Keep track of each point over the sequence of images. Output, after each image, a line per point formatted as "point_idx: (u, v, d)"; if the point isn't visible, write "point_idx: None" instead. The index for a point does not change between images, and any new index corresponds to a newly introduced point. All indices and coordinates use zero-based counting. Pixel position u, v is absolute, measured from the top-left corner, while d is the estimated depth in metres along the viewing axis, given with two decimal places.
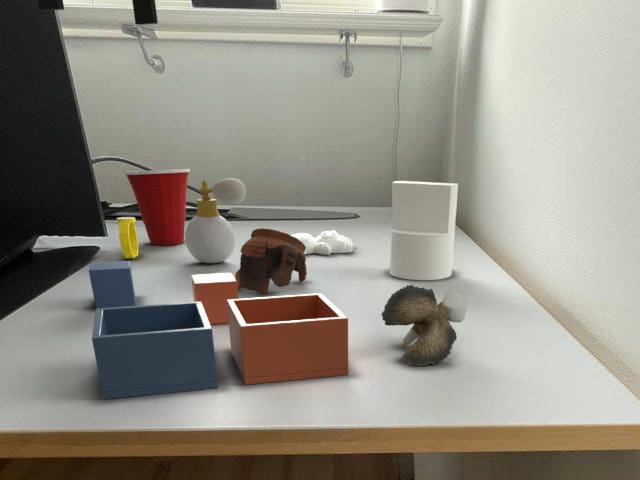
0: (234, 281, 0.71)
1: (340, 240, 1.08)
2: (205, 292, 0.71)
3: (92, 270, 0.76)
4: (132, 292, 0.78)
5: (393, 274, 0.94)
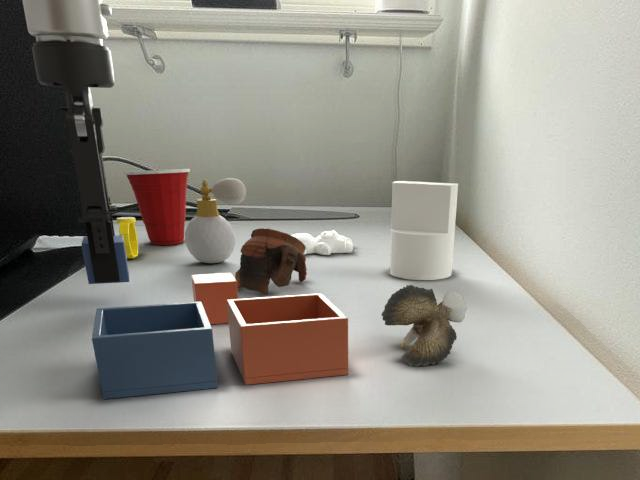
0: (234, 281, 0.71)
1: (340, 240, 1.08)
2: (205, 292, 0.71)
3: (85, 244, 0.74)
4: (125, 267, 0.77)
5: (393, 274, 0.94)
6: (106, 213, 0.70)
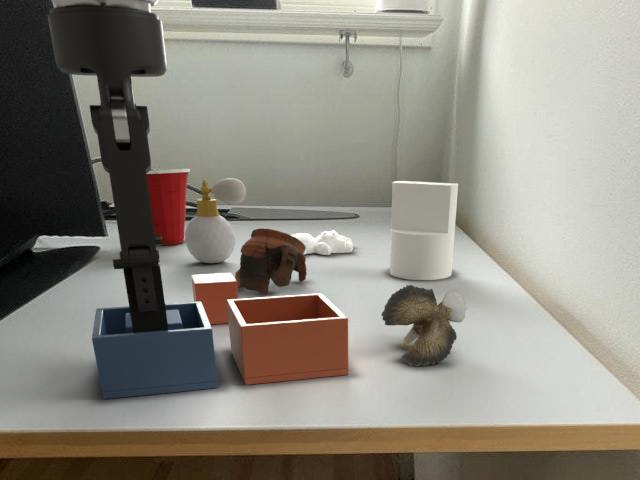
0: (234, 281, 0.71)
1: (340, 240, 1.08)
2: (205, 292, 0.71)
3: (130, 327, 0.54)
4: None
5: (393, 274, 0.94)
6: (156, 255, 0.48)
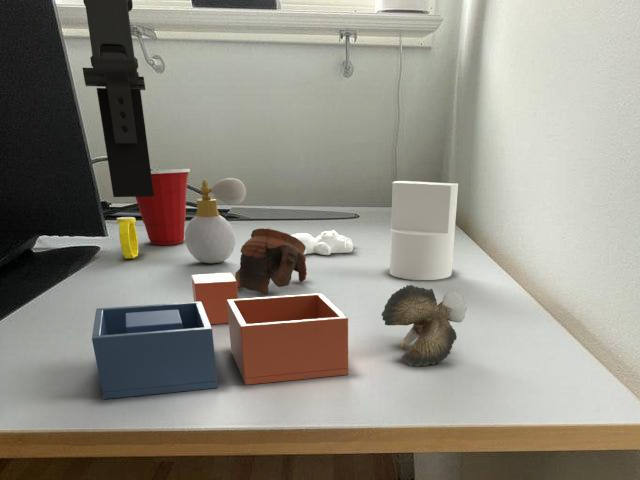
0: (234, 281, 0.71)
1: (340, 240, 1.08)
2: (205, 292, 0.71)
3: (130, 327, 0.54)
4: None
5: (393, 274, 0.94)
6: (133, 59, 0.40)
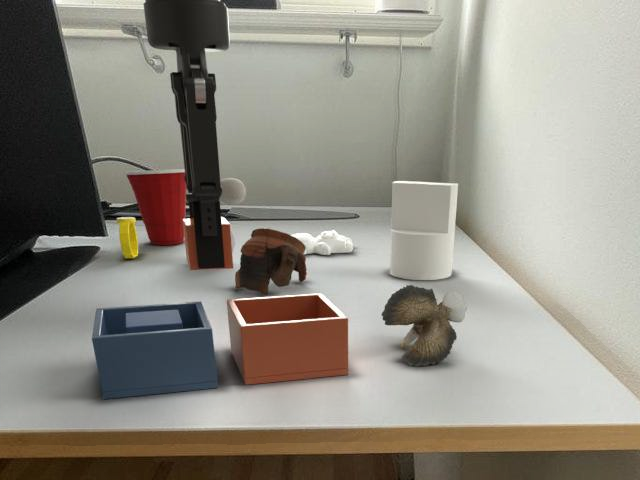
0: (227, 224, 0.68)
1: (340, 240, 1.08)
2: None
3: (130, 327, 0.54)
4: None
5: (393, 274, 0.94)
6: (220, 190, 0.63)
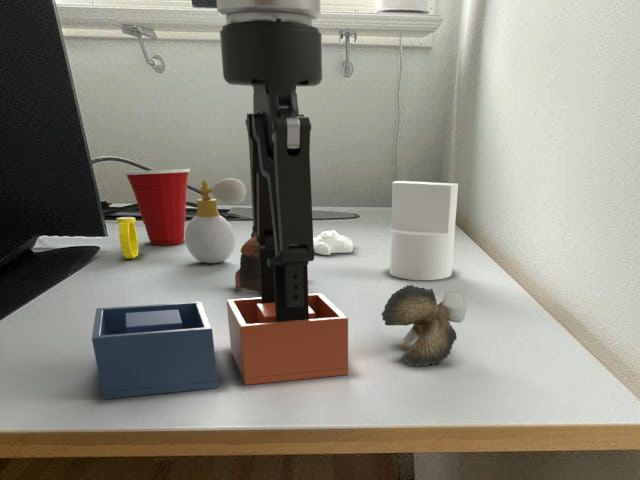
0: (312, 313, 0.58)
1: (340, 240, 1.08)
2: None
3: (130, 327, 0.54)
4: None
5: (393, 274, 0.94)
6: (312, 253, 0.51)
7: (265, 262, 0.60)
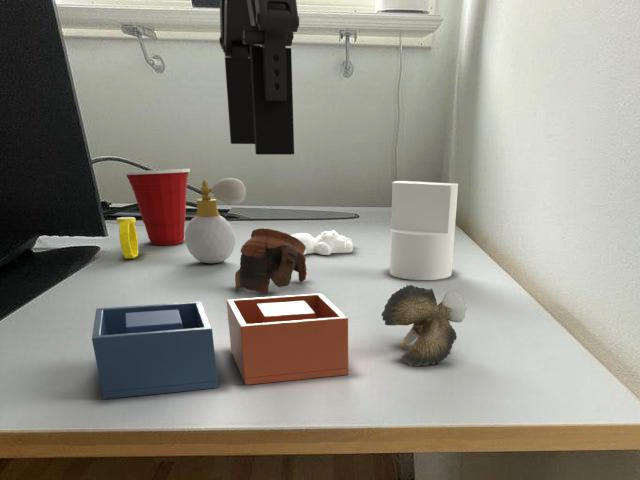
0: (312, 313, 0.58)
1: (340, 240, 1.08)
2: None
3: (130, 327, 0.54)
4: None
5: (393, 274, 0.94)
6: (296, 16, 0.42)
7: (232, 73, 0.56)
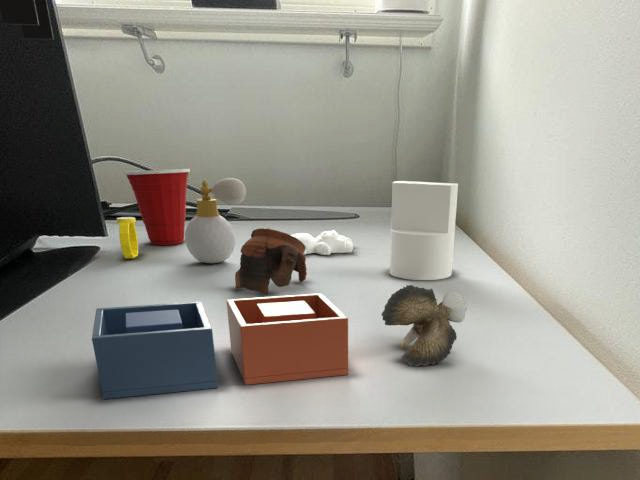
0: (312, 313, 0.58)
1: (340, 240, 1.08)
2: None
3: (130, 327, 0.54)
4: None
5: (393, 274, 0.94)
6: None
7: None
